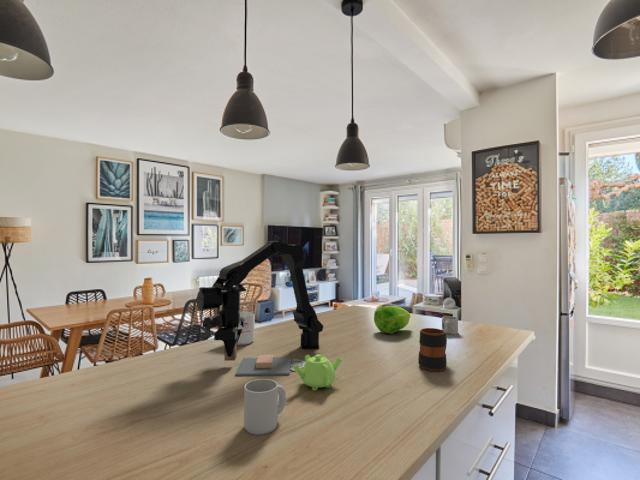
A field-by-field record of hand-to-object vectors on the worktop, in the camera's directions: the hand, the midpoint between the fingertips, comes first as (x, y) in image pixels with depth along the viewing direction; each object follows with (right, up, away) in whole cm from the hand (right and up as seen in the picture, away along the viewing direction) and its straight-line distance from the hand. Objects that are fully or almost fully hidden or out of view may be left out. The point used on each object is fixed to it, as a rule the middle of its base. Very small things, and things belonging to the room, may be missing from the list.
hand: (230, 354), depth 113 cm
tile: (+11, -2, +4) cm, 12 cm away
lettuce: (+62, -4, +44) cm, 76 cm away
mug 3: (+85, -4, +41) cm, 95 cm away
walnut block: (0, -1, 0) cm, 1 cm away
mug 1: (-3, -4, +26) cm, 26 cm away
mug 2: (+66, -4, +1) cm, 66 cm away
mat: (+11, -4, 0) cm, 12 cm away
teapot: (+28, -4, -14) cm, 31 cm away
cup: (+17, -4, -35) cm, 39 cm away
